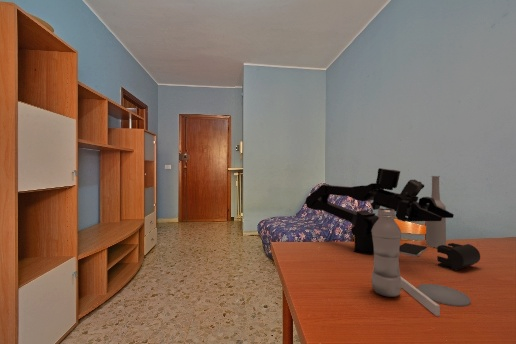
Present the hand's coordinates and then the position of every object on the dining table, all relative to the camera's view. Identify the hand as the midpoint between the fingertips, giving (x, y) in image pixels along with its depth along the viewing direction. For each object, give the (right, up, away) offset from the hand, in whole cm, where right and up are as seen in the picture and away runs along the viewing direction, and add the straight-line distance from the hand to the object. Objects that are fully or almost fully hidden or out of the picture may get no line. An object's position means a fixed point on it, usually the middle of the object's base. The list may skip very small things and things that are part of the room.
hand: (447, 217), depth 70 cm
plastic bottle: (-24, -16, -12) cm, 31 cm away
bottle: (+17, -17, +28) cm, 37 cm away
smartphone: (+3, -17, +22) cm, 28 cm away
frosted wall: (-18, -16, -12) cm, 27 cm away
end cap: (+7, -16, +5) cm, 19 cm away
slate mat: (-11, -16, -13) cm, 23 cm away
